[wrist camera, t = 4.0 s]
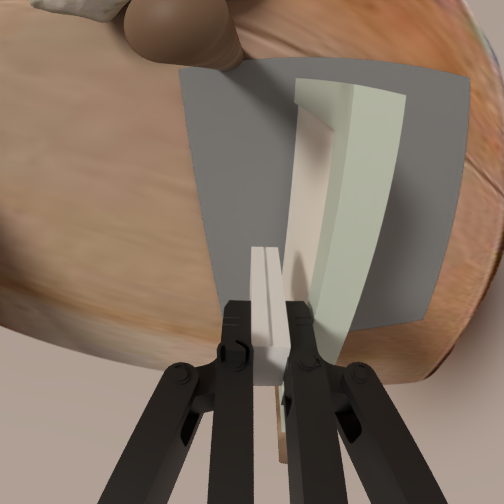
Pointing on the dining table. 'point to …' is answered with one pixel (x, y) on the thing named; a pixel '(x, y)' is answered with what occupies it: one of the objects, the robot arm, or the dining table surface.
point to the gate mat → (281, 171)
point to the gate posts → (189, 56)
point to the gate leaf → (337, 201)
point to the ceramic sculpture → (82, 8)
